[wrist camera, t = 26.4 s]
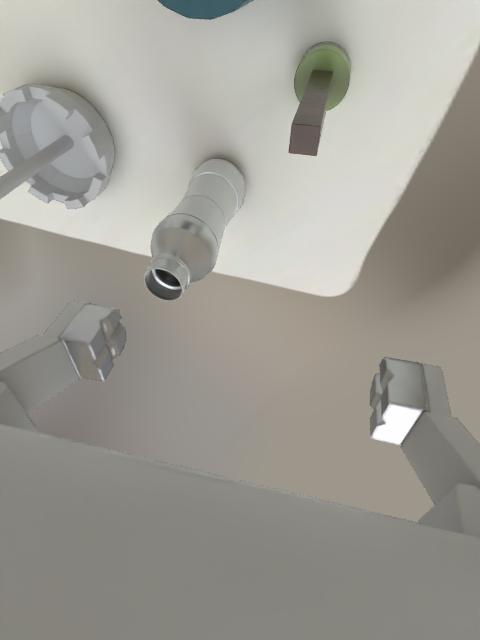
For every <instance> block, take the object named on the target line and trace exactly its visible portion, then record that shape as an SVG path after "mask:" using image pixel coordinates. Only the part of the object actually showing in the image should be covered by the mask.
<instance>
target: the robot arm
mask: <svg viewBox="0 0 480 640" xmlns="http://www.w3.org/2000/svg"><path fill="white" fill-rule="evenodd" d="M121 318H122V316H121V313H120V310H118V309H115V308H110V307H105V306H100V305H96V304H91V303H85V302H80V301H75V300H73V301H71V302H69V303H68V304H67V306H66V307H65V308H64V309H63V310H62V312H61V313H60V314H59V315H58V316H57V318H56V319H55V320H54V321H53V323H52V324H51V325H50V326H49V328H48V329H47V330H46V331H45V332H44V334H43V335H42V336H41V335H36V336H34V337H32V338H30V339H28V340H26V341H24V342H22V343H20V344H18V345H16V346H14V347H12V348H10V349H8V350H5V351H3V352H1V353H0V640H480V444H479V443H478V441H477V440H476V439H475V438H474V437H473V436H472V435H471V433H470V432H469V431H468V430H467V429H466V428H465V426H464V425H463V424H462V423H461V422H460V421H459V420H458V418H455V417H451V412H450V407H449V402H448V397H447V392H446V386H445V382H444V377H443V371H442V369H441V367H439V366H433V365H427V364H422V363H421V364H420V363H417V362H411V361H405V360H400V359H394V358H388V357H384V358H383V359H382V361H381V363H380V372H379V373H377V374H375V376H374V379H373V381H372V386H371V390H370V405H371V407H372V408H373V409H374V411H373V413H372V415H371V417H370V435H371V438H372V439H377V440H381V441H385V442H389V443H393V444H398V445H401V446H400V447H401V449H402V450H403V452H404V454H405V455H406V457H407V459H408V461H409V462H410V464H411V466H412V467H413V469H414V471H415V472H416V474H417V476H418V477H419V479H420V481H421V483H422V484H423V486H424V488H425V489H426V491H427V493H428V495H429V496H430V498H431V500H432V501H433V503H434V506H433V507H432V508H431V509H430V510H429V511H428V512H427V513H426V514H425V515H424V516H422V517H421V518H420V520H419V523H418V522H413V521H409V520H405V519H401V518H397V517H392V516H388V515H384V514H380V513H375V512H371V511H367V510H363V509H359V508H354V507H350V506H346V505H342V504H338V503H333V502H329V501H325V500H321V499H317V498H313V497H308V496H304V495H300V494H296V493H292V492H287V491H283V490H279V489H275V488H270V487H266V486H262V485H258V484H254V483H250V482H246V481H241V480H237V479H233V478H229V477H225V476H220V475H216V474H212V473H207V472H203V471H199V470H195V469H191V468H187V467H182V466H178V465H174V464H170V463H166V462H161V461H157V460H153V459H149V458H145V457H140V456H136V455H131V454H128V453H124V452H119V451H115V450H111V449H106V448H103V447H98V446H94V445H90V444H86V443H81V442H77V441H73V440H68V439H65V438H60V437H56V436H52V435H48V434H43V433H39V432H36V425H35V424H34V423H33V421H32V420H31V419H30V417H29V416H28V415H30V414H31V413H33V412H34V411H35V410H37V409H38V408H40V407H41V406H42V405H44V404H45V403H46V402H48V401H49V400H51V399H52V398H53V397H55V396H56V395H58V394H59V393H60V392H62V391H63V390H65V389H66V388H67V387H69V386H70V385H72V384H73V383H74V382H76V381H77V380H79V377H81V378H86V379H92V380H97V381H103V382H104V381H105V380H106V378H107V376H108V375H109V373H110V371H111V369H112V368H113V366H114V364H113V360H112V359H114V358H116V357H117V356H119V355H120V354H121V352H122V350H123V349H124V346H125V342H126V330H125V327H124V326H123V325H122V324H121V323H120V320H121Z"/></svg>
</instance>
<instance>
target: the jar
mask: <svg viewBox="0 0 480 640" xmlns="http://www.w3.org/2000/svg"><path fill="white" fill-rule="evenodd" d="M158 1H159V2H160V3H161V4H162V5H163V6H166V8H168V9H170V10H172V11H174V12H176V13H179V14H181V15H183V16H185V17H188V18H194V19H210V20H211V19H215V18H217V17H220V16H223V15H225V14H228V13H231V12H234V11H235V10H237V9H239V8H241V7H242V6H244V5H246V4H248V3H250V2H251V1H253V0H158Z"/></svg>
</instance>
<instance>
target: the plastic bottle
mask: <svg viewBox="0 0 480 640" xmlns="http://www.w3.org/2000/svg"><path fill="white" fill-rule="evenodd" d="M244 196H245V182H244V178H243V176H242V174H241V172H240V171H239V170H238V168H237V167H236V166H234V165H233V164H232V163H230V162H228V161H226V160H223V159H210V160H208V161H206V162H204V163H203V164H201V165H200V166H199V167H198V168H197V169H196V170H195V171H194V173H193V175H192V177H191V180H190V183H189V187H188V190H187V192H186V194H185V196H184V198H183V200H182V201H181V202H180V203H179V205H178V206H177V207H176V208H175V210H173V211H172V212H171V213H170V214H169V215H168V216H167V217H166V218H164V219H163V220H162V221H161V222H160V223H159V225H158V226H157V227H156V228H155V230H154V232H153V234H152V240H151V254H152V258H153V259H152V261H151V262H150V264H149V267H148V269H147V270H146V272H145V274H144V278H143V279H144V284H145V287H146V288H147V290H148V291H149V292H150V293H151V294H152V295H153V296H155V297H156V298H158V299H160V300H163V301H168V302H172V301H177V300H178V299H180V298H181V297H182V295H183V294H184V292H185V290H186V289H187V288H188V286H189V285H190V283H191V282H195V281H198V280H201V279H202V278H204V277H205V276H206V275H207V274H208V273H209V272H211V271H212V269H213V268H214V266H215V263H216V260H217V257H218V252H219V248H220V243H221V239H222V236H223V233H224V231H225V228H226V226H227V224H228V223H229V221H230V220H231V218H232V217H233V216H234V215H235V214H236V213H237V212H238V210H239V209H240V208H241V206H242V204H243V201H244Z"/></svg>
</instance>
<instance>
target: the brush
mask: <svg viewBox="0 0 480 640" xmlns="http://www.w3.org/2000/svg"><path fill="white" fill-rule="evenodd" d="M349 80H350V60H349V57H348V55H347V53H346V52H345V50H344V49H343V48H342V47H341V46H339V45H338V44H336V43H333V42H322V43H319V44H316V45H315V46H313V47H312V48H310V49H309V50H308V51H307V52H306V54H305V55H304V57H303V59H302V60H301V62H300V64H299V66H298V68H297V71H296V74H295V79H294V89H295V93H296V96H297V98H298V100H299V102H300V104H299V107H298V109H297V112H296V115H295V117H294V120H293V122H292V127H291V136H290V145H289V153H294V154H303V155H312V156H316V155H317V151H318V146H319V142H320V137H321V132H322V128H323V123H324V119H325V114H326V111H328V110H330V109H332V108H334V107H335V106H336V105H338V104H339V103H340V102H341V100H342V99H343V98H344V96H345V94H346V92H347V90H348V86H349Z"/></svg>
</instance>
